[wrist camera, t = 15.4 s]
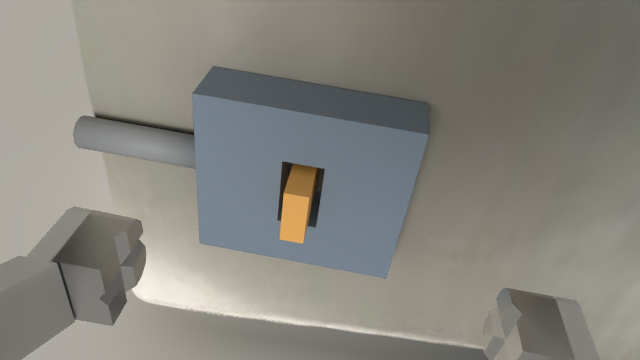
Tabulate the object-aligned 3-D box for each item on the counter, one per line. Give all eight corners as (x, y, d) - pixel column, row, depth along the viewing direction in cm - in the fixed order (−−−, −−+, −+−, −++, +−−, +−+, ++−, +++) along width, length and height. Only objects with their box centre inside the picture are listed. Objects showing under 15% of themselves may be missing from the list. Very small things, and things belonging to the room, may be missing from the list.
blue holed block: (427, 103, 40) (429, 134, 36) (388, 241, 50) (386, 278, 46) (75, 42, 41) (39, 66, 37) (104, 189, 51) (78, 220, 47)
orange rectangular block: (301, 138, 44) (283, 192, 37) (323, 142, 44) (309, 197, 37) (296, 182, 47) (279, 239, 40) (317, 185, 47) (303, 243, 40)
